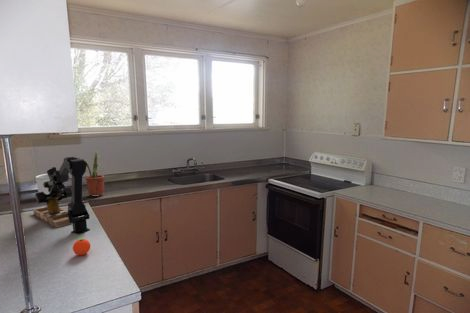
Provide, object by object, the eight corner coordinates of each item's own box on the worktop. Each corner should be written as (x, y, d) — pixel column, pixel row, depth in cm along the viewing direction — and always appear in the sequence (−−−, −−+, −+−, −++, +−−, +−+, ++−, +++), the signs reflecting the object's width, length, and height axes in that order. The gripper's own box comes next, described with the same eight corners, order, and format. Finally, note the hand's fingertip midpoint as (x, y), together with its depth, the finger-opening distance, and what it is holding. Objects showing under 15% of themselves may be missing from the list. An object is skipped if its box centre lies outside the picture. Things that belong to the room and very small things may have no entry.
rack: (78, 221, 171) (78, 216, 170) (55, 227, 162) (55, 222, 161) (54, 209, 194) (54, 205, 194) (33, 214, 185) (33, 209, 185)
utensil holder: (36, 201, 215) (33, 178, 212) (40, 196, 228) (37, 174, 226) (59, 198, 221) (57, 175, 218) (62, 194, 234) (59, 172, 232)
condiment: (54, 211, 182) (51, 192, 181) (66, 211, 180) (63, 192, 179) (44, 215, 175) (41, 196, 174) (56, 215, 173) (53, 195, 172)
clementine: (70, 254, 130) (68, 238, 129) (86, 248, 135) (84, 234, 134) (77, 259, 125) (75, 244, 124) (93, 253, 130) (92, 238, 129)
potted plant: (104, 192, 236) (100, 149, 231) (107, 196, 223) (104, 151, 218) (80, 196, 227) (75, 151, 222) (82, 200, 214) (77, 153, 209)
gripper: (69, 174, 180) (63, 188, 188) (34, 179, 165) (29, 195, 174) (76, 188, 176) (70, 202, 184) (40, 195, 161) (35, 210, 170)
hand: (51, 202), depth 178 cm, fingers closed on condiment, 6 cm apart
